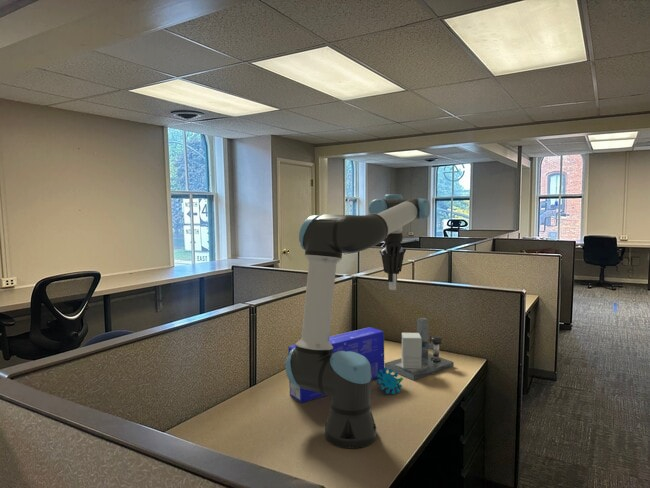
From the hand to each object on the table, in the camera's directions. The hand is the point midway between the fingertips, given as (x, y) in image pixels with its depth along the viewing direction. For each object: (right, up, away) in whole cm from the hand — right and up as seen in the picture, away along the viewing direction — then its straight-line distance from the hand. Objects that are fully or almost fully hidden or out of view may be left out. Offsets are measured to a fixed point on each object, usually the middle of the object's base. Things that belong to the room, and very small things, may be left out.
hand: (392, 289), depth 176 cm
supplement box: (+7, -31, -3) cm, 32 cm away
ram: (+19, -28, +4) cm, 34 cm away
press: (+11, -32, +1) cm, 34 cm away
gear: (-4, -35, -21) cm, 41 cm away
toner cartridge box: (-23, -34, -17) cm, 44 cm away
